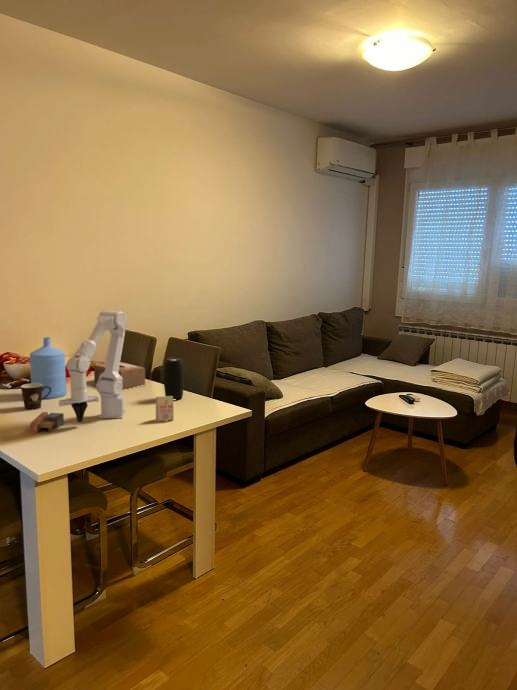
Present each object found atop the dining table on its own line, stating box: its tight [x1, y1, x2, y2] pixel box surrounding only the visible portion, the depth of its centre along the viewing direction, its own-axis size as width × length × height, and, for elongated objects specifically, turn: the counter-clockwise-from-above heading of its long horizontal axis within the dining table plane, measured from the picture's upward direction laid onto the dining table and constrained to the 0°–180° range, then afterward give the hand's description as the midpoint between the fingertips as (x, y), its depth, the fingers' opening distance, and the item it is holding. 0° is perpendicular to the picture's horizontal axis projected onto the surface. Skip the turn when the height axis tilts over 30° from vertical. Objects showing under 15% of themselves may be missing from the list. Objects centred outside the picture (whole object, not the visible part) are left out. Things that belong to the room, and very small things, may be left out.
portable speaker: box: [163, 356, 185, 400], centre depth 237 cm, size 9×9×20 cm
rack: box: [30, 411, 55, 434], centre depth 193 cm, size 7×14×4 cm, turn 6°
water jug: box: [29, 336, 68, 400], centre depth 238 cm, size 16×16×28 cm
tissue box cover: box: [93, 361, 146, 391], centre depth 265 cm, size 26×14×10 cm, turn 48°
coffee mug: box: [20, 383, 51, 411], centre depth 218 cm, size 12×9×10 cm
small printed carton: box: [155, 396, 174, 422], centre depth 204 cm, size 4×7×10 cm, turn 108°
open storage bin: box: [45, 412, 65, 429], centre depth 194 cm, size 5×5×4 cm
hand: (79, 421), depth 194 cm, fingers closed
